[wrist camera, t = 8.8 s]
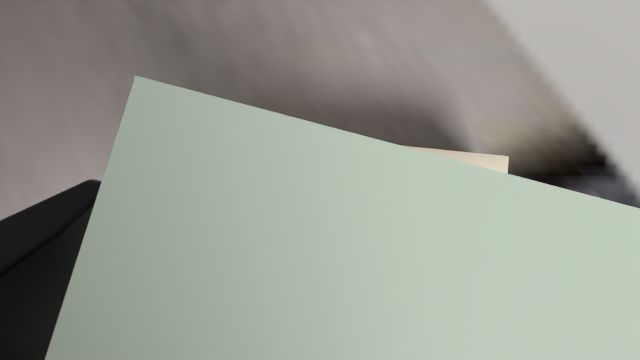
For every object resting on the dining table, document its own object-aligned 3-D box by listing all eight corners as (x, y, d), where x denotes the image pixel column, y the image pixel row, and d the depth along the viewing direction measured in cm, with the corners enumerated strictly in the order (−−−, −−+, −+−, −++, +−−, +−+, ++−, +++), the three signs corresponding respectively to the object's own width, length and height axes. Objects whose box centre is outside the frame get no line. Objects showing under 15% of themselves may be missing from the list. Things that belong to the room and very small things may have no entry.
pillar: (397, 392, 16) (673, 1066, 3) (246, 348, 16) (-95, 795, 3) (435, 239, 16) (814, 254, 4) (288, 198, 17) (135, 75, 4)
